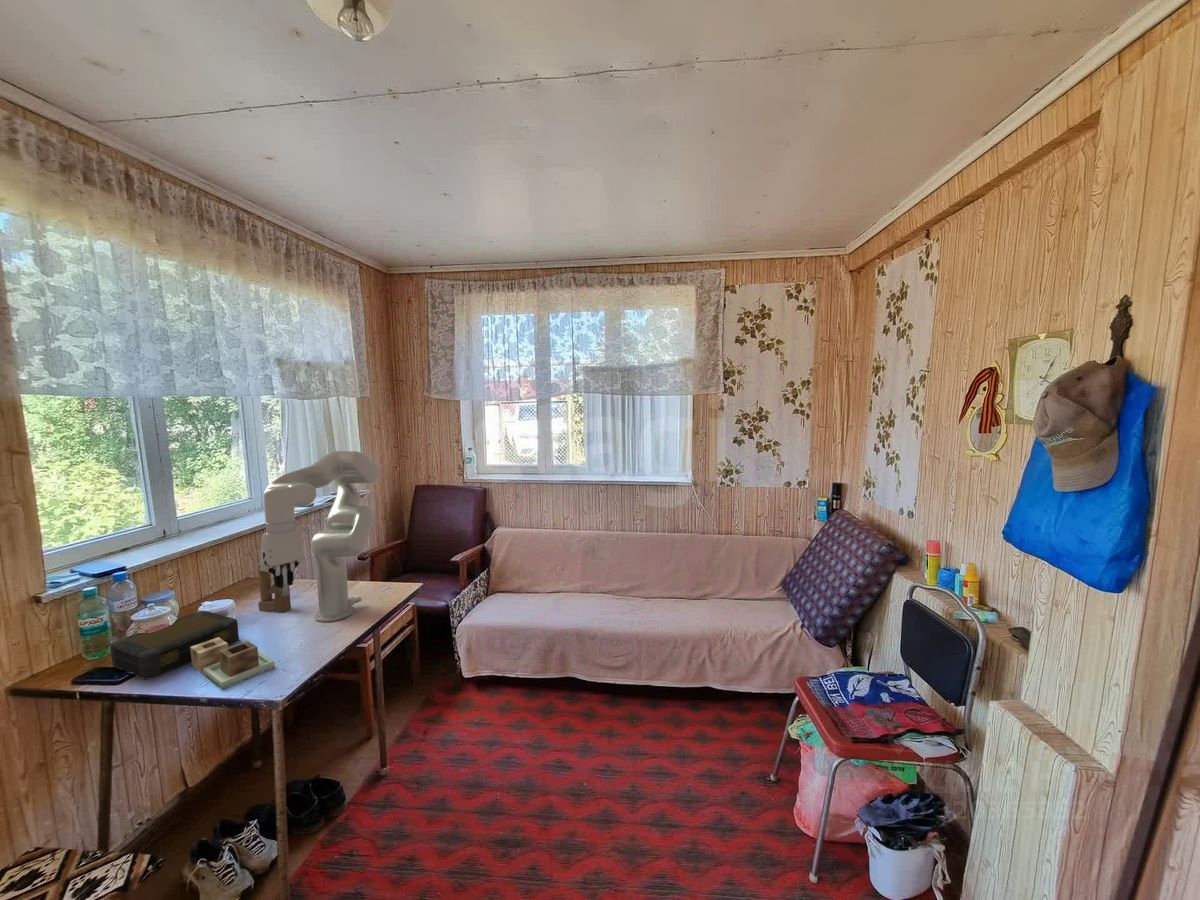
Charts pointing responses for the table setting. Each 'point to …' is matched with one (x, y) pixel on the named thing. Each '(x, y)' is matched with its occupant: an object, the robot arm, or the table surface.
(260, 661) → the tray
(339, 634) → the table surface
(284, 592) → the pin gauge
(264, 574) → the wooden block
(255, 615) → the table surface
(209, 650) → the oak block
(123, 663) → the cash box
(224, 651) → the walnut block
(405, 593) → the table surface
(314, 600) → the table surface
